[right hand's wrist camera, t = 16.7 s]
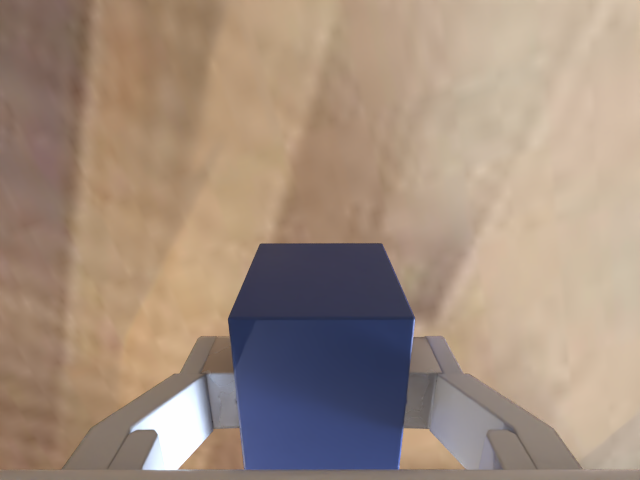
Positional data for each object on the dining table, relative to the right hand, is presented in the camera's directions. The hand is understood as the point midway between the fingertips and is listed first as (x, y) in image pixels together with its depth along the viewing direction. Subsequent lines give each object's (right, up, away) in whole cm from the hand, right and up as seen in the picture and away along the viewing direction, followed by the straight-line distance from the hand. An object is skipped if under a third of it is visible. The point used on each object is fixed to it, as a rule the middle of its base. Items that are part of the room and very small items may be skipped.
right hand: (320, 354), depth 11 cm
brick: (0, +1, +2) cm, 2 cm away
